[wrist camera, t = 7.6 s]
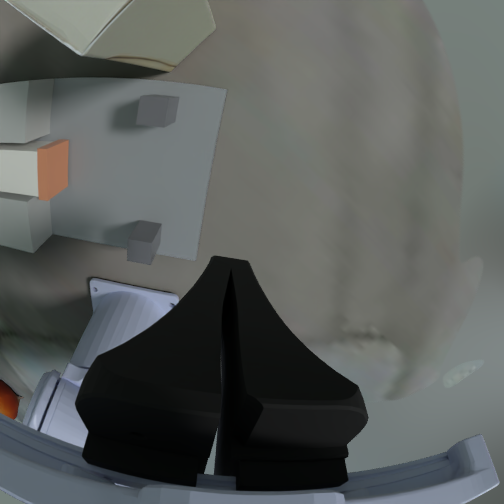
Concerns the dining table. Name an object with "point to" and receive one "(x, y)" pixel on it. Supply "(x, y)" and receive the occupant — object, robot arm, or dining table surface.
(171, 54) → the skincare box
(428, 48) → the dining table surface
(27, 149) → the button
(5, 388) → the fruit
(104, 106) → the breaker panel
